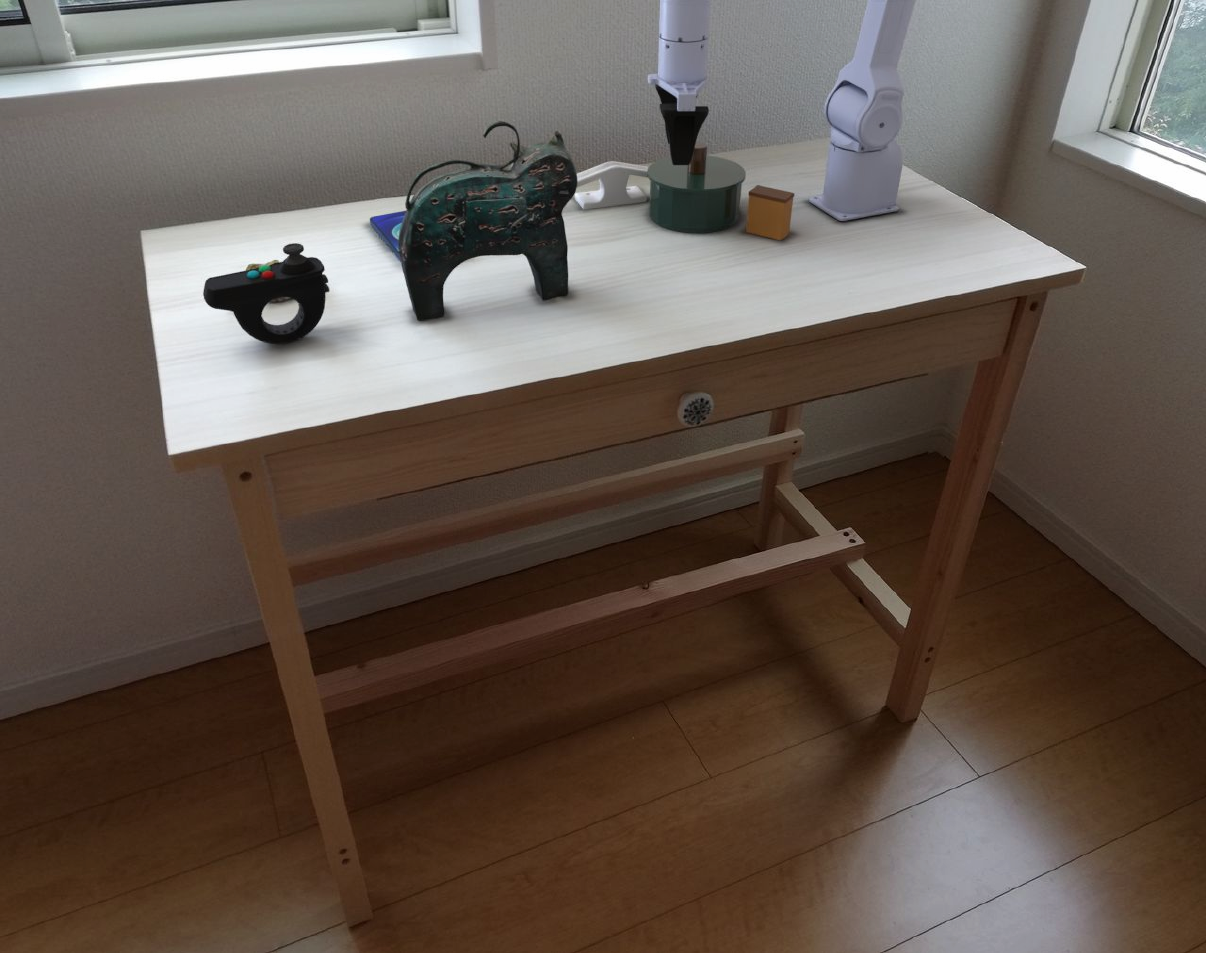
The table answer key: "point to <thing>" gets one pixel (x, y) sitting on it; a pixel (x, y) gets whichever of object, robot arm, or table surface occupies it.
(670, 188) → the lid
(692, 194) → the pot
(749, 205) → the brown block
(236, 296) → the controller
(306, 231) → the table surface
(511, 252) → the ceramic cat
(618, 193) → the mooring cleat
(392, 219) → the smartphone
